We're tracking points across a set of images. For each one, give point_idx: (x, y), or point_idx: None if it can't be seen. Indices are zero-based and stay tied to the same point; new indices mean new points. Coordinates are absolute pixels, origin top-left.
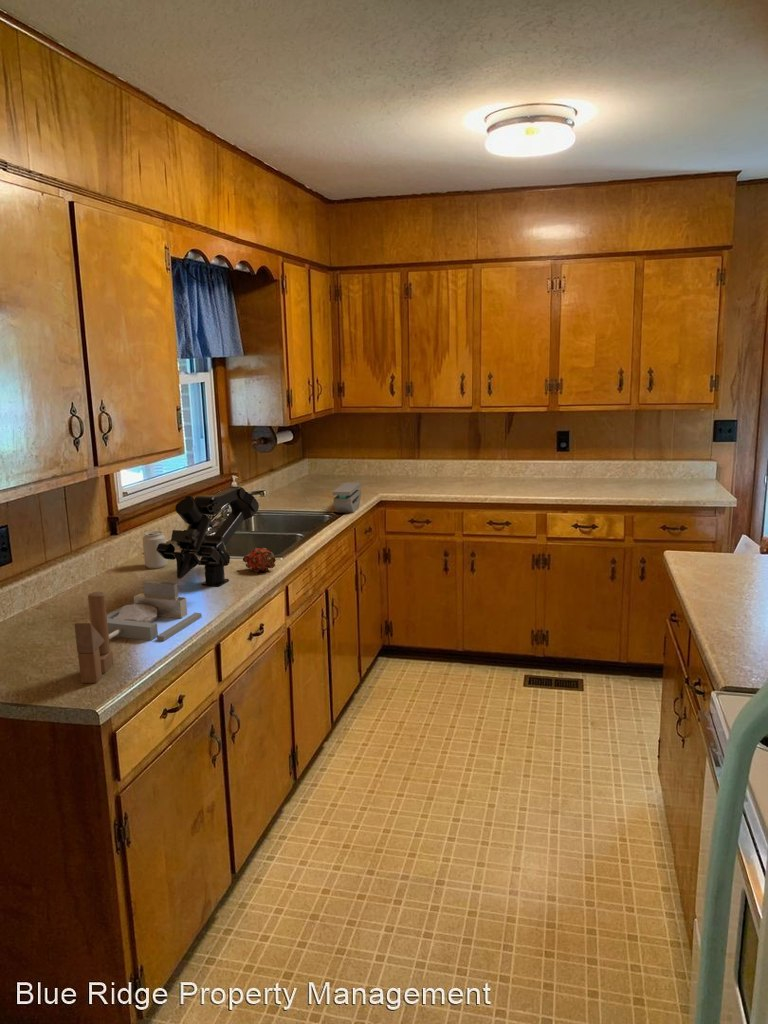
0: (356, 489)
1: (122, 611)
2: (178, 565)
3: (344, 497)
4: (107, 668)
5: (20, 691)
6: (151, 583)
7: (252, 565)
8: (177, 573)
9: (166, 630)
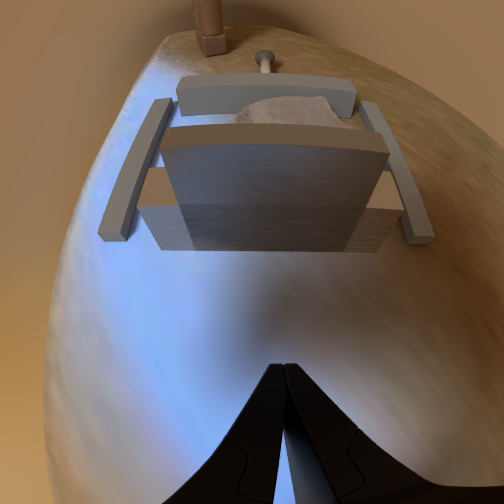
0: None
1: (342, 125)
2: (339, 437)
3: None
4: (201, 48)
5: (269, 28)
6: (325, 128)
7: None
8: (305, 380)
9: (160, 116)
